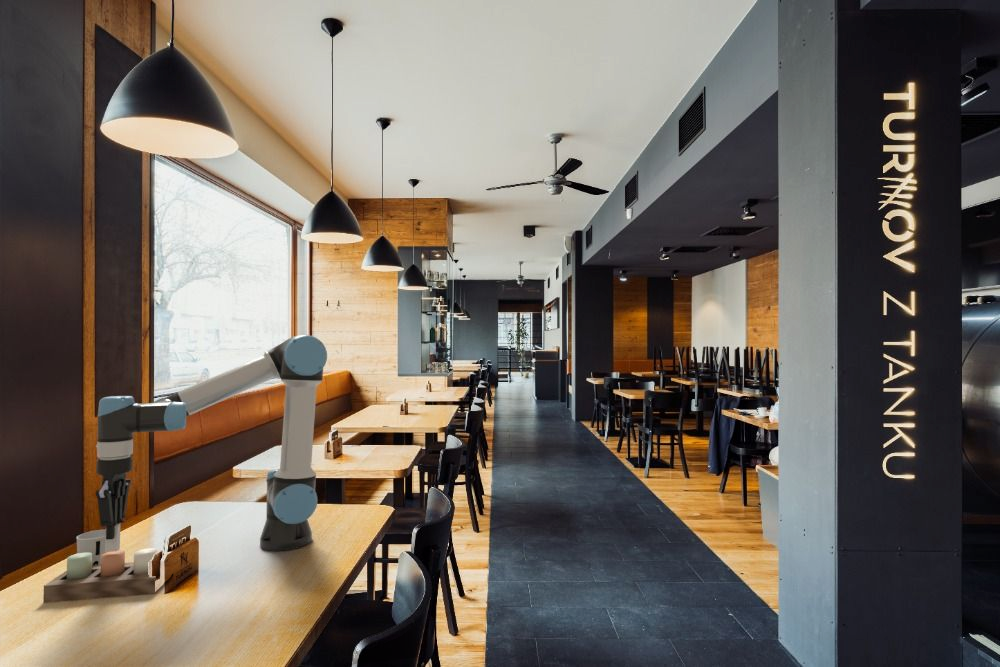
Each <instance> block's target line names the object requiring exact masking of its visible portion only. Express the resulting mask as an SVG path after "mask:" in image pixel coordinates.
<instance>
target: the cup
mask: <svg viewBox="0 0 1000 667" xmlns="http://www.w3.org/2000/svg"><path fill="white" fill-rule="evenodd" d="M105 530H106V529H98V530H96V529H95V530H91V531H87V532H84V533H81V534H79V535H77V536H76V551H77V552H76V554H78V553H86V552H88V553H92V565H101V555H102V554H104V553H107V552H105Z"/></svg>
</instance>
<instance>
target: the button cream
mask: <svg viewBox="0 0 1000 667" xmlns="http://www.w3.org/2000/svg"><path fill="white" fill-rule="evenodd" d="M156 552H157V553H158V549H157V548H153V547H151V548H143V549H139V550H137V551H135V552H134V553H133V562H134V573H133V574H134V575H136V574H148V562H149V561H150V560H151V559H152V557H153V555H154V554H155V553H156Z"/></svg>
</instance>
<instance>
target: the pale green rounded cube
mask: <svg viewBox="0 0 1000 667" xmlns="http://www.w3.org/2000/svg"><path fill="white" fill-rule="evenodd" d="M66 571H67V580H68V579H81V578H86V577H88V576H90V575H91V574H92V553H88V552H86V553H78V554H77V553H76V554H75V553H74V554H71V555H69V556H67V557H66Z"/></svg>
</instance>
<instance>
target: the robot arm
mask: <svg viewBox="0 0 1000 667" xmlns="http://www.w3.org/2000/svg"><path fill="white" fill-rule="evenodd" d="M327 352H328V351H327V349H326V346H325V344H324V343H323V342H322V341H321V340H320V339H319V338H317V337H316V336H313V335H310V334H298V335H295V336H292V337H289V338H288V339H286V340H284V341H283V342H281V343H279V344H278V345H276V346H273V347H272V348H270V349H268V350H265V351H264V354H263V355H262V356H260V357H258V358H257V357H256V358H254V359H252V360H250V361H247V362H246V363H243V364H240V365H239V366H235V367H234V368H231V369H229V370H227V371H224V372H222V373H220V374H217V375H214V376H211V377H210V378H207V379H206V380H203V381H200V382H198V383H196V384H194V385H191V386H189V387H187V388H184V389H182V390H180V391H177V392H175V393H172V394H171V395H168V396H165V397H161V398H159V399H157V400H155V401H154V402H150V403H149V402H148V403H146V402H145V403H138V402H136V401H135V398H134V397H133V395H116V396H115V395H111V396H105V397H102V398H100V400H99V402H98V413H97V433H96V434H97V435H96V436H97V439H96V441H97V443H96V445H95V448H96V457H97V460H96V474H97V475H99V476H102V480H101V489H96V491H95V495H96V499H97V504H98V505H97V508H98V513H99V525H100V527H105V529H104V530H105V552H113V551H118V550H120V549H121V523H122V524H123V523H125V521H126V519H125V517H126V512H127V506H128V499H129V490H130V486H131V482H132V479H131V478H127V473H129V472H132V470H133V459H134V458H133V457H132V455H133V454H134V433H143V432H144V433H149V432H150V433H151V432H173V431H180V430H181V431H182V430H184V429H186V426H187V417H189V416H191V415H193V414H196V413H198V412H200V411H203V410H204V409H207V408H209V407H211V406H214V405H216V404H218V403H220V402H223V401H225V400H227V399H229V398H231V397H233V396H236V395H239V394H240V393H243V392H245V391H247V390H249V389H252V388H254V387H256V386H259V385H261V384H263V383H265V382H268V381H270V380H273V379H276V380H281V382H282V383H283V384H284V386H285V392H284V393H285V394H284V407H283V408H284V409H283V422H282V436H281V448H280V449H281V450H280V465H279V468H276V469H272V470H271V469H270V470H269V471H268V472H267V474H266V479H265V482H266V518H265V519H266V520H265V523H264V525H263V529H262V531H261V535H260V538H259V547H260V548H261V549H263V550H266V551H270V552H271V551H274V552H276V551H277V552H280V551H289V550H294V549H300V548H302V547H304V546H307V545H308V544H309V543H311V542H312V540H313V538H312V537H313V532H312V529H311V526H310V522H309V518H311V516H313V514H314V513H315V510H316V509H317V506H318V494H317V491H316V480H317V473H316V471H315V470H314V469H313V467H312V460H313V458H312V457H313V448H314V447H313V445H314V430H315V418H316V417H315V415H316V402H317V387H318V386H319V385H320V384H321V383H322V382H323V380H324V379H323V377H324V376H323V375H324V368H325V366H326V363H327V360H328V353H327Z"/></svg>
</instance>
